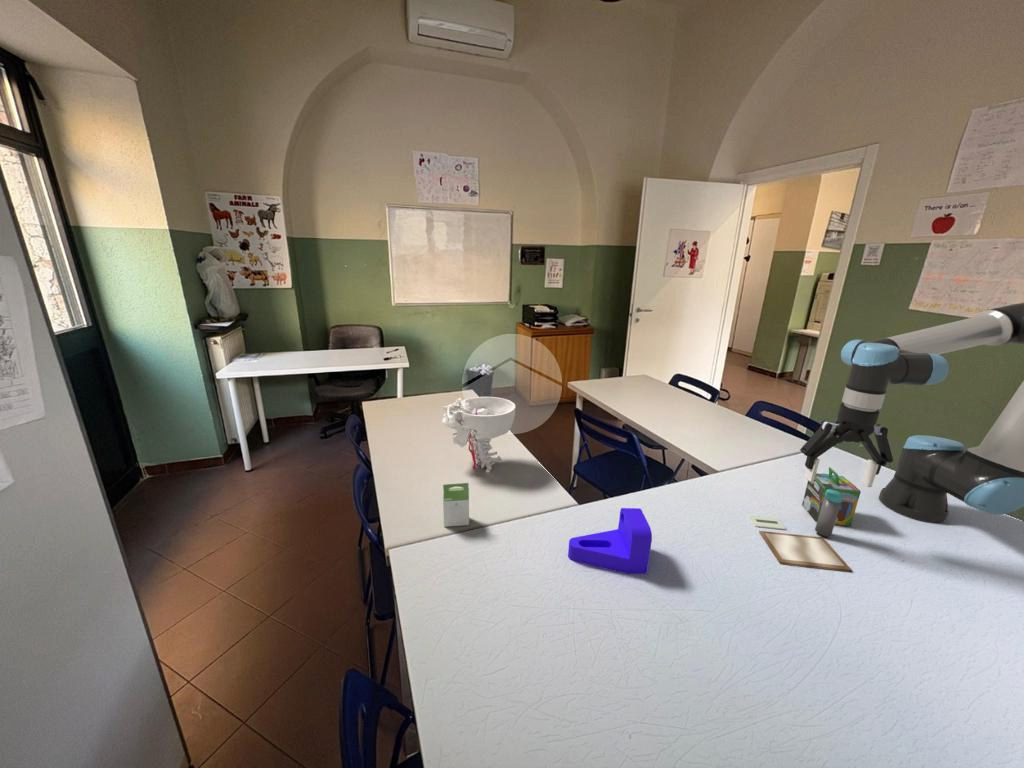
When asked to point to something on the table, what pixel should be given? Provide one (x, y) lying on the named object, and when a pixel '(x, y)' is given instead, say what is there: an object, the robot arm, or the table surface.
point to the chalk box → (834, 482)
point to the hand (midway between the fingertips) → (837, 482)
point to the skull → (479, 425)
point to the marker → (828, 513)
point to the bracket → (616, 545)
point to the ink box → (456, 504)
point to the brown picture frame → (804, 551)
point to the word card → (766, 522)
